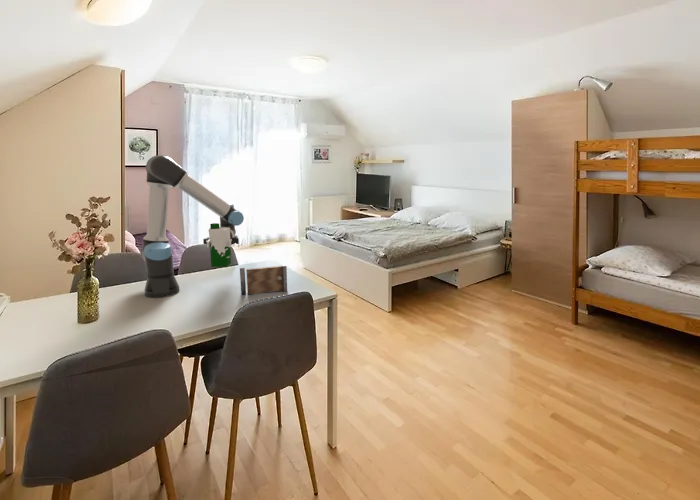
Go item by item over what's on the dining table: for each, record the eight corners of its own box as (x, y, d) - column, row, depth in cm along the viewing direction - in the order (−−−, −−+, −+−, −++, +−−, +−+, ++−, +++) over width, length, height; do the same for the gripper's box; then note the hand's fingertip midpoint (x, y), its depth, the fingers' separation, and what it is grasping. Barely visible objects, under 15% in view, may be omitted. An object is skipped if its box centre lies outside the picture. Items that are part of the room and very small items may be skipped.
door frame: (241, 295, 188) (239, 269, 185) (241, 294, 190) (239, 267, 187) (287, 291, 194) (286, 265, 191) (286, 290, 196) (285, 264, 193)
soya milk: (215, 262, 197) (213, 222, 193) (233, 263, 197) (231, 222, 193) (208, 267, 188) (206, 225, 184) (227, 267, 188) (225, 225, 184)
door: (248, 295, 187) (247, 270, 185) (247, 293, 191) (246, 268, 188) (286, 291, 194) (285, 267, 191) (284, 288, 197) (284, 265, 195)
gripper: (247, 242, 210) (243, 252, 188) (203, 243, 206) (194, 252, 185) (246, 228, 209) (242, 236, 187) (203, 229, 205) (193, 236, 183)
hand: (218, 244), depth 186 cm, fingers closed on soya milk, 9 cm apart
